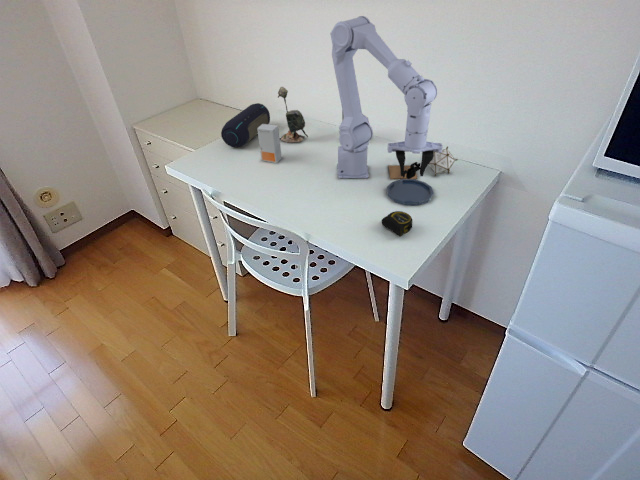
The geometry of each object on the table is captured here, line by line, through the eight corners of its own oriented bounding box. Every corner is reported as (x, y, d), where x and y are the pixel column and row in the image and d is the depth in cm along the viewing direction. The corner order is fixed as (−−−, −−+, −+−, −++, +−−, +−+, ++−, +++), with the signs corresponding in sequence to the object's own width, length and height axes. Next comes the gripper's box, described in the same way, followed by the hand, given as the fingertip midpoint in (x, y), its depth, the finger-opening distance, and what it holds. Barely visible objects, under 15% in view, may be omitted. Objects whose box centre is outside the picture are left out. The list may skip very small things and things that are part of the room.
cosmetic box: (261, 161, 138) (256, 128, 131) (267, 155, 141) (262, 123, 134) (276, 163, 136) (272, 130, 129) (282, 158, 140) (278, 125, 132)
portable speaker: (244, 152, 144) (240, 126, 138) (220, 149, 147) (215, 123, 141) (275, 125, 162) (272, 101, 156) (253, 123, 165) (249, 99, 159)
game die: (443, 185, 128) (458, 171, 119) (418, 175, 128) (432, 160, 118) (449, 162, 131) (465, 147, 122) (425, 152, 131) (439, 136, 121)
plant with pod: (298, 147, 146) (294, 92, 133) (276, 140, 152) (270, 86, 139) (313, 140, 150) (310, 85, 138) (291, 132, 156) (286, 80, 144)
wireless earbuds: (416, 171, 118) (420, 157, 114) (422, 176, 116) (427, 161, 113) (399, 180, 114) (403, 165, 111) (406, 184, 113) (410, 170, 109)
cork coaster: (390, 179, 125) (390, 178, 125) (388, 166, 132) (388, 165, 132) (417, 179, 125) (417, 178, 124) (414, 166, 131) (414, 165, 131)
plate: (388, 205, 114) (388, 202, 113) (385, 181, 124) (386, 178, 123) (435, 205, 113) (436, 202, 112) (429, 182, 123) (429, 179, 122)
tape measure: (379, 227, 106) (380, 216, 103) (398, 218, 109) (400, 207, 106) (397, 240, 101) (398, 228, 99) (417, 230, 104) (418, 218, 102)
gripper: (390, 135, 104) (386, 181, 112) (447, 135, 102) (439, 181, 111) (388, 124, 109) (385, 169, 118) (442, 124, 108) (435, 169, 116)
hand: (411, 174), depth 115 cm, fingers closed on wireless earbuds, 5 cm apart
